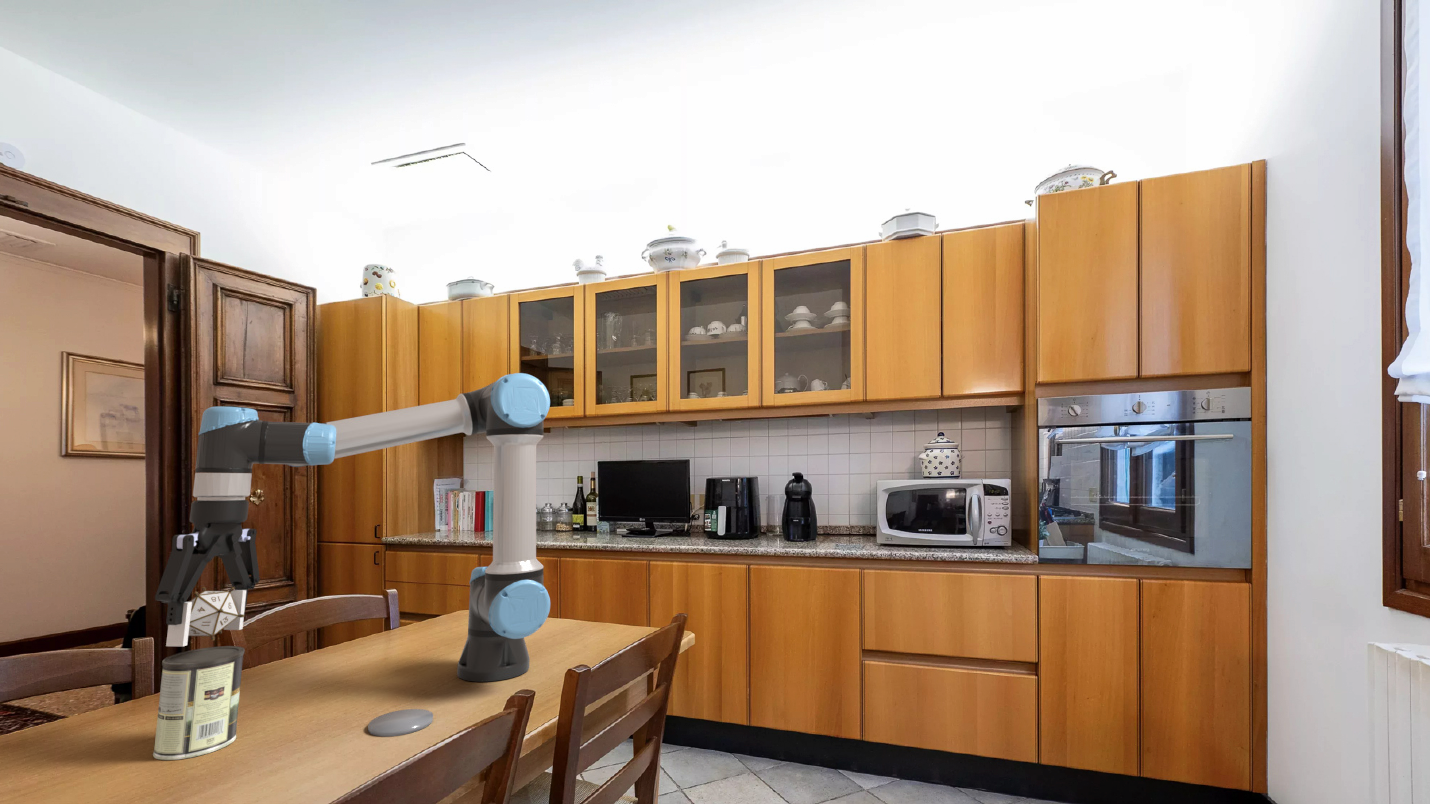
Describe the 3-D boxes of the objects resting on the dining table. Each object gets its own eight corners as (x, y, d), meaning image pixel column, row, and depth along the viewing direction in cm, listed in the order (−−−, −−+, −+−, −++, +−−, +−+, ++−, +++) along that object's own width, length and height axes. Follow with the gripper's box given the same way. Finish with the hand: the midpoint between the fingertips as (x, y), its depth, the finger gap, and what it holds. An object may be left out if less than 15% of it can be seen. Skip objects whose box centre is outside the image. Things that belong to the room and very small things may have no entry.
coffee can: (196, 731, 103) (205, 644, 104) (252, 734, 102) (260, 646, 103) (132, 759, 92) (143, 662, 94) (194, 762, 91) (204, 664, 93)
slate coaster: (443, 714, 110) (443, 709, 110) (413, 737, 100) (414, 731, 101) (389, 713, 111) (390, 708, 111) (355, 735, 101) (355, 730, 101)
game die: (198, 665, 97) (169, 622, 92) (181, 639, 101) (152, 596, 96) (261, 628, 103) (237, 586, 98) (242, 605, 107) (218, 563, 102)
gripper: (253, 497, 113) (240, 621, 110) (133, 500, 91) (113, 656, 88) (291, 497, 113) (280, 621, 110) (181, 501, 91) (163, 657, 88)
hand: (206, 637), depth 99 cm, fingers closed on game die, 10 cm apart
